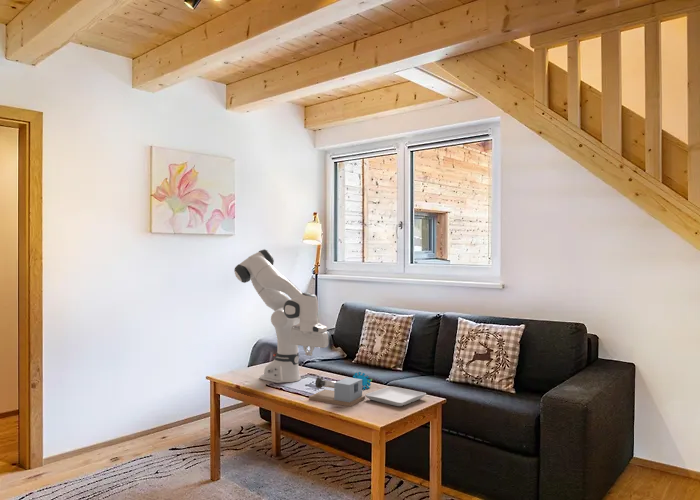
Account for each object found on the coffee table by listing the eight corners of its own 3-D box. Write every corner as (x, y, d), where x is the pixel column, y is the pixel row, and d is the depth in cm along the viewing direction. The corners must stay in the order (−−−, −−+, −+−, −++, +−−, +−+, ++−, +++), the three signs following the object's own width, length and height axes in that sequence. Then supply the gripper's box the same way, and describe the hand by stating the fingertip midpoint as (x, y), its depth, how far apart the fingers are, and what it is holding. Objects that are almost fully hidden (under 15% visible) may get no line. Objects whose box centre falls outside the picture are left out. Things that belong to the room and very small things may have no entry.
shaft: (315, 388, 249) (315, 378, 249) (320, 386, 253) (321, 376, 253) (340, 392, 243) (340, 381, 243) (345, 390, 247) (345, 379, 247)
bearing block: (309, 399, 245) (309, 379, 245) (324, 392, 258) (325, 373, 258) (350, 406, 235) (350, 385, 235) (364, 398, 247) (365, 379, 247)
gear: (356, 387, 261) (351, 370, 267) (351, 394, 264) (346, 377, 271) (375, 388, 265) (370, 371, 272) (370, 394, 269) (365, 377, 276)
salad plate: (363, 401, 245) (363, 393, 245) (390, 392, 261) (390, 385, 261) (401, 410, 231) (401, 402, 231) (427, 400, 247) (427, 392, 247)
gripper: (287, 326, 256) (287, 354, 256) (323, 329, 246) (323, 358, 246) (294, 324, 262) (294, 352, 262) (330, 327, 252) (330, 356, 252)
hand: (308, 355), depth 254 cm, fingers closed
